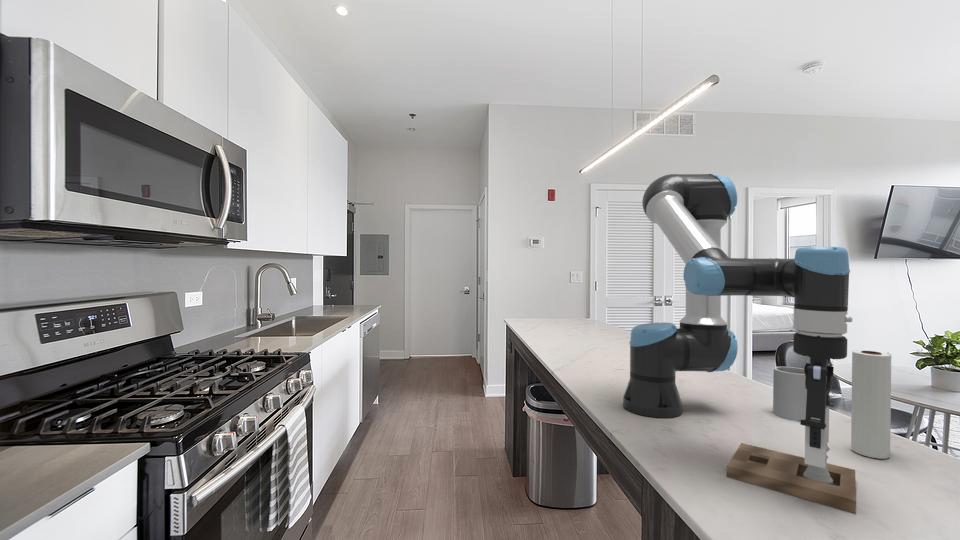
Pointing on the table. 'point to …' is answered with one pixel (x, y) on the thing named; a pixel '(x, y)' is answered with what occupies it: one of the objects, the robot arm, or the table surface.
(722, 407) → the table surface
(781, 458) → the socket board
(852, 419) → the paper towel roll
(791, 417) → the cup
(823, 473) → the rook chess piece
